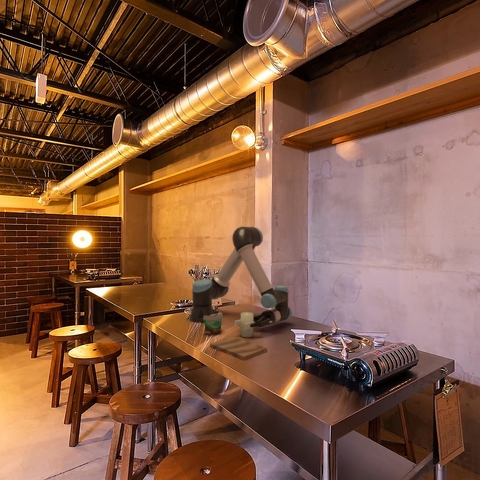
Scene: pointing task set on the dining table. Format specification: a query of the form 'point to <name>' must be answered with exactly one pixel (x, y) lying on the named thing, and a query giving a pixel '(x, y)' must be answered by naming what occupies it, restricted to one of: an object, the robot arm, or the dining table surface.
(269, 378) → the dining table surface
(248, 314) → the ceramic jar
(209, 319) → the food container
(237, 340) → the walnut board
